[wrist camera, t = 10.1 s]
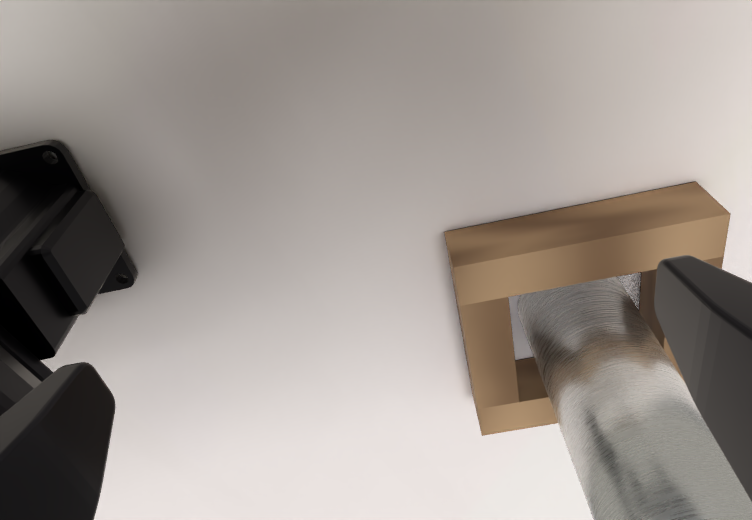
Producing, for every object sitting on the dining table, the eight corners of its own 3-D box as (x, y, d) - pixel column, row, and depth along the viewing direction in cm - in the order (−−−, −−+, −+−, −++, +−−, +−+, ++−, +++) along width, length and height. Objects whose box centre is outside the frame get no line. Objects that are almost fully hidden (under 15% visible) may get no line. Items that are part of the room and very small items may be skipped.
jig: (472, 395, 29) (481, 435, 27) (444, 232, 23) (453, 267, 21) (674, 360, 28) (700, 399, 26) (695, 181, 23) (730, 213, 20)
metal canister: (498, 326, 27) (597, 639, 16) (549, 246, 24) (707, 553, 13) (586, 349, 28) (734, 658, 17) (643, 275, 25) (859, 580, 14)
